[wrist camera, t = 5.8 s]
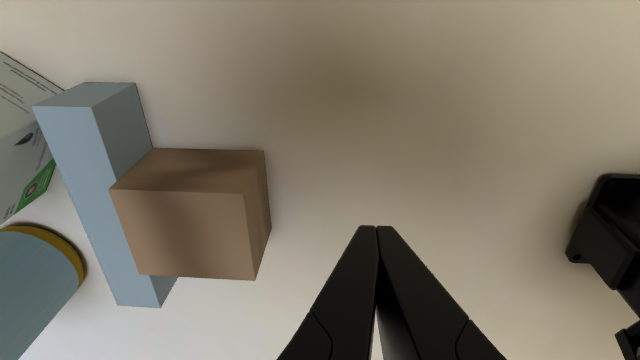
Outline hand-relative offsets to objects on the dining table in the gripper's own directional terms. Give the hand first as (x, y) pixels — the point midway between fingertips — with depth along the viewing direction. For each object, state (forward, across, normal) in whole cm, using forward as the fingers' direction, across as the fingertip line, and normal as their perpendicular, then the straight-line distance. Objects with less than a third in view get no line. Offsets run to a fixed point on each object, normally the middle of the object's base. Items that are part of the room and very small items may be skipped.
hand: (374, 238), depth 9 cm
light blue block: (+12, +14, +6) cm, 20 cm away
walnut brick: (+12, +9, +6) cm, 17 cm away
